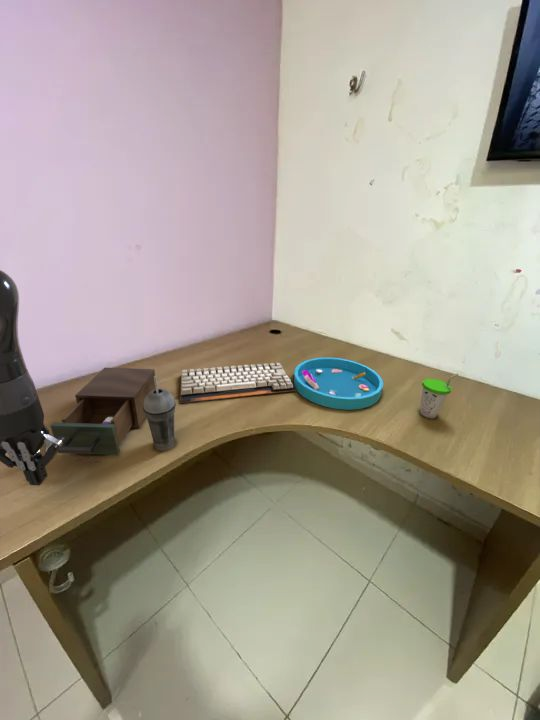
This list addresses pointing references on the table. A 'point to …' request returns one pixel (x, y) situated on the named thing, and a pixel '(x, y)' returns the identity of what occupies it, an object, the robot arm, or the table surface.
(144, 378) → the cabinet
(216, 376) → the mechanical keyboard
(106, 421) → the glue stick
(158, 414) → the beverage cup
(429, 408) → the cup
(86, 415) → the drawer
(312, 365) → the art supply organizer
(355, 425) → the table surface
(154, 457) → the table surface
